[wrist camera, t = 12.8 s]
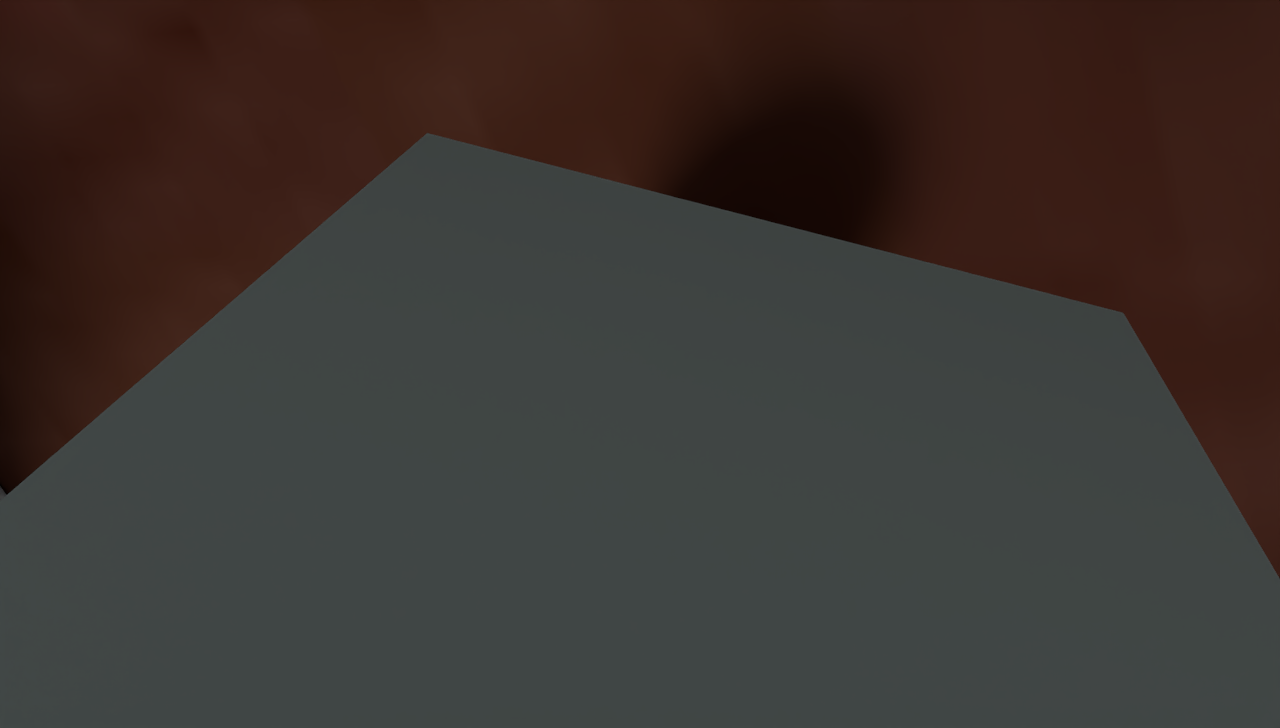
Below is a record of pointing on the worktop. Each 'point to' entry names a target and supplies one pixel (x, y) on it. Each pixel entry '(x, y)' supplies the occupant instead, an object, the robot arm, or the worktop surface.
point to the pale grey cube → (631, 491)
